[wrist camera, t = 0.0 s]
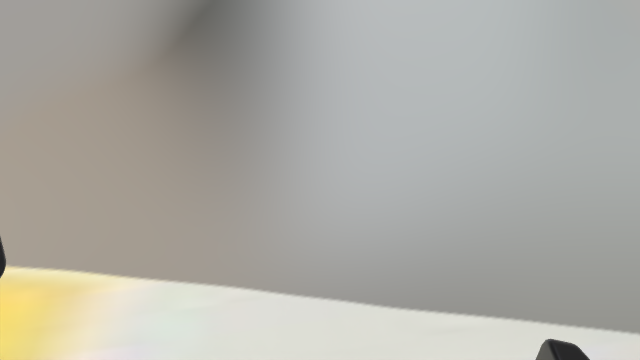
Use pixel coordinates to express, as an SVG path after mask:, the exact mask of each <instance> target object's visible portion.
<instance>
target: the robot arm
mask: <svg viewBox="0 0 640 360" xmlns="http://www.w3.org/2000/svg"><path fill="white" fill-rule="evenodd" d="M5 267H6V258H5V254H4V249H3V246H2V241H1V237H0V278H1V276H2V275H3V273H4V270H5ZM536 360H590V359H589V358H588V357H587V356H586V355H585V354H584V353H583V352H582V350H581V349H580V348H579V347H578V346H576V345H575V344H572V343H568V342H564V341H559V340H554V339H548V340H545V342H544V343H543V344H542V346H541V348H540V351H539V353H538V355H537V358H536Z"/></svg>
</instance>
